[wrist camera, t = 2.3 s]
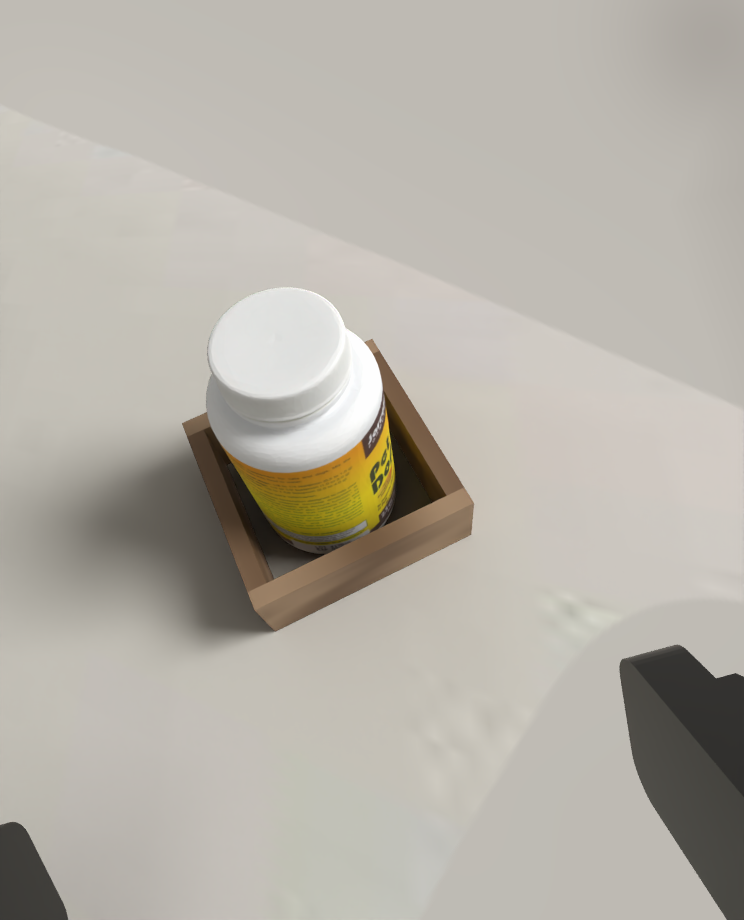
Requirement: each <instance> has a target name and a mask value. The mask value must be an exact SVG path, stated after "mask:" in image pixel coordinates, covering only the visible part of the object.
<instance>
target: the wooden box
mask: <svg viewBox="0 0 744 920" xmlns="http://www.w3.org/2000/svg"><path fill="white" fill-rule="evenodd" d="M364 343H365V344H366V345H367V346H368V348H369V349H370V351H371V352H372V354H373V356H374V357H375V360H376V362H377V364H378V367H379V370H380V375H381V379H382V383H383V391H384V398H385V404H386V411H387V416H388V422H389V429H390V431H391V433H392V434H393V436H394V438H395V440H396V441H397V443H398V445H399V446H400V448H401V450H402V452H403V453H404V455H405V457H406V458H407V460H408V462H409V464H410V465H411V467H412V469H413V470H414V472H415V474H416V476H417V477H418V479H419V481H420V482H421V484H422V486H423V488H424V489H425V491H426V493H427V494H428V496H429V498H430V500H431V501H432V503H431V504H429V505H427V506H425V507H423V508H421V509H418V510H416V511H414V512H412V513H410V514H408V515H406V516H404V517H402V518H400V519H398V520H396V521H394V522H392V523H390V524H387V525H385V526H383V527H381V528H379V529H377V530H375V531H373V532H371V533H369V534H367V535H365V536H363V537H361V538H359V539H357V540H354V541H352V542H350V543H348V544H346V545H344V546H342V547H340V548H338V549H336V550H334V551H332V552H330V553H328V554H326V555H323V556H321V557H319V558H317V559H315V560H313V561H311V562H309V563H307V564H305V565H303V566H301V567H299V568H297V569H295V570H293V571H290V572H288V573H286V574H284V575H282V576H280V577H278V578H276V579H274V578H273V576H272V573H271V571H270V568H269V566H268V564H267V561H266V559H265V556H264V554H263V551H262V549H261V547H260V544H259V542H258V539H257V537H256V535H255V532H254V530H253V527H252V525H251V523H250V520H249V518H248V515H247V513H246V510H245V508H244V506H243V503H242V501H241V498H240V496H239V494H238V491H237V489H236V486H235V484H234V481H233V479H232V477H231V474H230V472H229V469H228V467H227V464H229V463H231V460H230V459H229V457H228V455H227V454H226V452H225V451H224V449H223V448H222V446H221V444H220V443H219V441H218V439H217V438H216V436H215V434H214V432H213V430H212V428H211V425H210V422H209V419H208V415H207V412H206V413H204V414H202V415H200V416H197V417H195V418H193V419H191V420H188V421H186V422H184V423H182V425H183V427H184V430H185V433H186V435H187V438H188V440H189V443H190V445H191V448H192V451H193V453H194V456H195V458H196V461H197V463H198V466H199V469H200V471H201V474H202V476H203V479H204V482H205V484H206V487H207V489H208V492H209V494H210V497H211V500H212V502H213V505H214V507H215V510H216V512H217V515H218V518H219V520H220V523H221V525H222V528H223V530H224V533H225V536H226V538H227V541H228V543H229V546H230V549H231V551H232V554H233V556H234V559H235V561H236V564H237V567H238V569H239V572H240V574H241V577H242V579H243V582H244V585H245V587H246V590H247V592H248V595H249V597H250V600H251V603H252V605H253V608H254V610H255V611H256V612H257V613H258V614H259V615H260V617H261V618H262V619H263V620H264V621H265V622H266V623H267V624H268V625H269V626H270V627H271V628H272V629H273V630H274V631H277V630H279V629H281V628H283V627H285V626H287V625H289V624H291V623H293V622H295V621H297V620H299V619H302V618H304V617H306V616H308V615H310V614H312V613H314V612H316V611H318V610H320V609H322V608H324V607H326V606H328V605H330V604H332V603H334V602H336V601H338V600H340V599H342V598H344V597H346V596H348V595H350V594H352V593H354V592H356V591H358V590H360V589H362V588H364V587H366V586H368V585H370V584H372V583H374V582H376V581H378V580H380V579H382V578H384V577H386V576H388V575H390V574H392V573H394V572H396V571H398V570H400V569H402V568H404V567H406V566H409V565H411V564H413V563H415V562H417V561H419V560H421V559H423V558H425V557H427V556H429V555H431V554H433V553H435V552H437V551H439V550H441V549H443V548H445V547H447V546H449V545H451V544H453V543H455V542H457V541H459V540H461V539H463V538H465V537H467V536H469V535H471V530H472V519H473V508H474V503H473V501H472V499H471V498H470V496H469V494H468V493H467V491H466V490H465V488H464V486H463V485H462V483H461V482H460V480H459V478H458V477H457V475H456V473H455V472H454V470H453V469H452V467H451V465H450V464H449V462H448V461H447V459H446V457H445V456H444V454H443V453H442V451H441V449H440V448H439V446H438V444H437V443H436V441H435V440H434V438H433V436H432V435H431V433H430V432H429V430H428V428H427V427H426V425H425V423H424V422H423V420H422V419H421V417H420V415H419V414H418V412H417V411H416V409H415V407H414V406H413V404H412V402H411V401H410V399H409V398H408V396H407V394H406V393H405V391H404V390H403V388H402V386H401V385H400V383H399V382H398V380H397V378H396V377H395V375H394V373H393V372H392V370H391V369H390V367H389V365H388V364H387V362H386V361H385V359H384V357H383V356H382V354H381V352H380V351H379V349H378V348H377V346H376V344H375V343H374V341H373V340H372V339H371V340H369V341H366V342H364Z"/></svg>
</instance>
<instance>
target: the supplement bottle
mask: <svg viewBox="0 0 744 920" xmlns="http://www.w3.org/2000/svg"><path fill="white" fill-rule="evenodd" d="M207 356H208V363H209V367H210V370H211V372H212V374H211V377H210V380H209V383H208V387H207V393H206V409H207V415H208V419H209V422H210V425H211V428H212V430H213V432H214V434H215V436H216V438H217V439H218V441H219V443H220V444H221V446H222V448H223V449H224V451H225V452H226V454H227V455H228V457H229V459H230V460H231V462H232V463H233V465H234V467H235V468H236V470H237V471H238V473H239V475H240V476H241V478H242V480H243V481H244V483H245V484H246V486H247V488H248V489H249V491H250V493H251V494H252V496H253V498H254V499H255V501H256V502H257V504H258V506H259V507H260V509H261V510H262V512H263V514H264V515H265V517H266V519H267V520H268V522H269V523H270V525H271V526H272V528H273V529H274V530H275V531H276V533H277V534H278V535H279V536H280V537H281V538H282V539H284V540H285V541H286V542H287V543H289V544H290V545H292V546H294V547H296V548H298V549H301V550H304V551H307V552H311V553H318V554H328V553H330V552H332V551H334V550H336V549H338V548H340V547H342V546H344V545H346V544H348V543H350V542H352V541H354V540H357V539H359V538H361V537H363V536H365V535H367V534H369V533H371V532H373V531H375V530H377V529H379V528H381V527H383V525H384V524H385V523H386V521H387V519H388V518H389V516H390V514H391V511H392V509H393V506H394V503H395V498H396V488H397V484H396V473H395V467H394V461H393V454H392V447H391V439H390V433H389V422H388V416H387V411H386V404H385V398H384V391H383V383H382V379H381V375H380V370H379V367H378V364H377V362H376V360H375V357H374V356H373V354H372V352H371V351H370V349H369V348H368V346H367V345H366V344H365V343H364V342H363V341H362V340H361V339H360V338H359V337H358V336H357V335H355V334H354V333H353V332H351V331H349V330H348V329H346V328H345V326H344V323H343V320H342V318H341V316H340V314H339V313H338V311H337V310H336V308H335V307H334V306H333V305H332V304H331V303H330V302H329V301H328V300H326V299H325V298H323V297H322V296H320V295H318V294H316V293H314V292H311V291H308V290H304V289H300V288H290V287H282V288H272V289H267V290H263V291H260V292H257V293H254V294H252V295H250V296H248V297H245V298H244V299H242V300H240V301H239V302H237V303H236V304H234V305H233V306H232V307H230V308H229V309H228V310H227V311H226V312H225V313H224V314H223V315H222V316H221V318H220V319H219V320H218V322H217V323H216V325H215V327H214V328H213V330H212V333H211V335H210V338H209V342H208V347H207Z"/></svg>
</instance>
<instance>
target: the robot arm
mask: <svg viewBox="0 0 744 920" xmlns="http://www.w3.org/2000/svg"><path fill="white" fill-rule="evenodd" d="M620 678H621V685H622V691H623V697H624V704H625V710H626V717H627V724H628V730H629V736H630V743H631V749H632V755H633V759H634V763H635V766H636V770H637V772H638V775H639V778H640V780H641V783H642V785H643V787H644V789H645V792H646V794H647V796H648V798H649V800H650V802H651V803H652V805H653V807H654V808H655V810H656V811H657V813H658V814H659V816H660V818H661V819H662V820H663V822H664V823H665V825H666V827H667V828H668V830H669V831H670V833H671V834H672V836H673V837H674V839H675V841H676V842H677V844H678V845H679V847H680V848H681V850H682V851H683V853H684V854H685V856H686V858H687V859H688V860H689V862H690V864H691V865H692V867H693V868H694V870H695V871H696V873H697V874H698V876H699V877H700V879H701V881H702V882H703V884H704V885H705V887H706V888H707V890H708V891H709V893H710V894H711V896H712V897H713V899H714V901H715V902H716V904H717V905H718V907H719V908H720V910H721V911H722V913H723V914H724V916H725V917H726V919H727V920H744V677H743V676H741V675H738V674H736V673H735V674H731V675H727V676H724V677H720V678H715V677H714V676H713V675H712V674H711V673H710V672H709V671H708V670H707V669H706V668H705V667H703V665H702V664H701V663H700V662H698V660H696V659H695V658H694V657H693V656H692V655H691V654H690V653H689V652H688V651H687V650H686V649H685V648H684V647H682V646H680V645H674V646H670V647H666V648H662V649H659V650H655V651H651V652H647V653H644V654H640V655H636V656H633V657H629V658H626V659H622V660H621V662H620ZM0 920H68V917H67V912H66V909H65V906H64V904H63V902H62V900H61V898H60V896H59V894H58V892H57V890H56V888H55V886H54V884H53V882H52V880H51V878H50V876H49V874H48V872H47V870H46V868H45V866H44V864H43V862H42V860H41V858H40V856H39V854H38V852H37V850H36V848H35V846H34V844H33V842H32V840H31V838H30V836H29V834H28V833H27V831H26V829H25V828H24V827H23V826H22V825H20V824H19V823H16V822H10V823H6V824H2V825H0Z"/></svg>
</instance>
